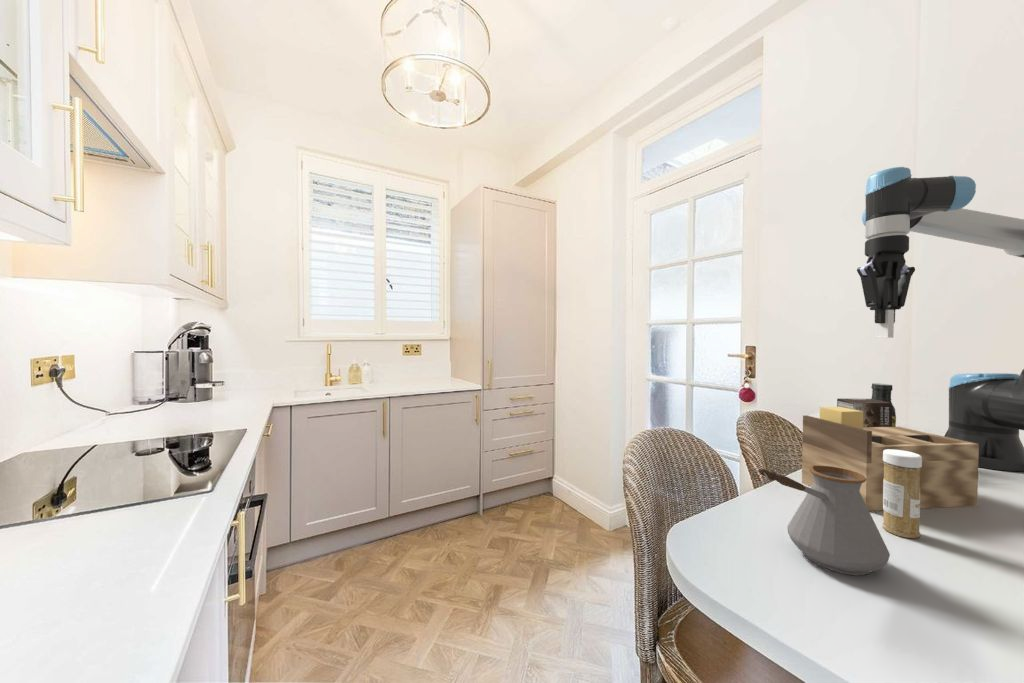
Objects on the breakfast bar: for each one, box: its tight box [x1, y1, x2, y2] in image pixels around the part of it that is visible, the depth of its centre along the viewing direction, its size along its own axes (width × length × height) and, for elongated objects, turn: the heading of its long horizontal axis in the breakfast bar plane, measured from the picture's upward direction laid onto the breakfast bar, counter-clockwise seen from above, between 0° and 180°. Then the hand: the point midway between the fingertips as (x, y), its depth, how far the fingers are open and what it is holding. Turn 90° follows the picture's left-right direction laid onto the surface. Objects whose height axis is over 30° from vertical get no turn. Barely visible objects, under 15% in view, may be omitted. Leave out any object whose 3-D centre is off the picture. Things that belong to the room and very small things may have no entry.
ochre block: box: [819, 406, 863, 429], centre depth 83 cm, size 5×5×5 cm
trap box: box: [801, 415, 979, 512], centre depth 80 cm, size 24×14×15 cm, turn 96°
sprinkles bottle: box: [881, 449, 922, 539], centre depth 64 cm, size 5×5×14 cm
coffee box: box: [836, 398, 893, 427], centre depth 100 cm, size 9×6×16 cm
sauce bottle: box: [870, 382, 897, 427], centre depth 104 cm, size 6×6×20 cm
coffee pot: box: [750, 465, 891, 576], centre depth 55 cm, size 21×12×15 cm, turn 108°
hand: (884, 337), depth 91 cm, fingers closed
